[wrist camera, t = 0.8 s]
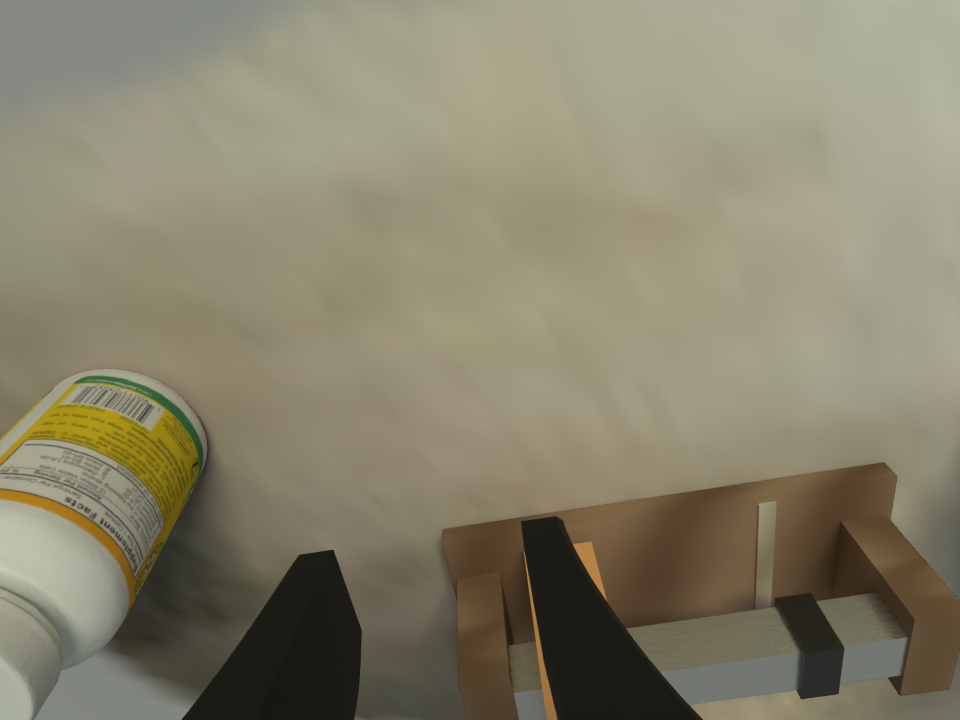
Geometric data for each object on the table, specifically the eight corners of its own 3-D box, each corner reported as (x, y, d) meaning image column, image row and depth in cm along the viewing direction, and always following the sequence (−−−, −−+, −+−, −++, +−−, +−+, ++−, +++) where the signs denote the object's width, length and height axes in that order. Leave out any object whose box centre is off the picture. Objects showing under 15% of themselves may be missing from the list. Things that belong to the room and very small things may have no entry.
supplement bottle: (156, 341, 21) (-43, 570, 12) (240, 472, 23) (121, 739, 15) (6, 393, 22) (-280, 645, 13) (103, 516, 24) (-87, 796, 16)
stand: (884, 462, 24) (986, 569, 20) (864, 600, 27) (947, 720, 23) (443, 529, 25) (441, 648, 20) (474, 657, 28) (479, 784, 24)
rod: (922, 576, 23) (967, 630, 21) (913, 622, 24) (954, 677, 22) (461, 643, 23) (462, 701, 21) (471, 685, 24) (473, 744, 22)
